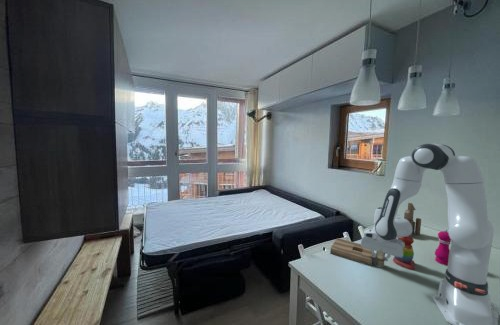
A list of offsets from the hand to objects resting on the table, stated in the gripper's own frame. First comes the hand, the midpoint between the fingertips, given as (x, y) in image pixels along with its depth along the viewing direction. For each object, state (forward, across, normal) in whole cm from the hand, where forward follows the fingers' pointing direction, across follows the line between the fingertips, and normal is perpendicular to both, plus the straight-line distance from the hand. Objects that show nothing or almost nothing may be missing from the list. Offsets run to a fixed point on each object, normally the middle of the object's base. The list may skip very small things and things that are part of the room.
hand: (380, 259), depth 115 cm
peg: (+4, 0, 0) cm, 4 cm away
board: (+4, +15, -5) cm, 16 cm away
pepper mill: (+4, -30, -27) cm, 41 cm away
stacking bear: (+4, -11, -11) cm, 16 cm away
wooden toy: (+4, -17, -65) cm, 67 cm away
